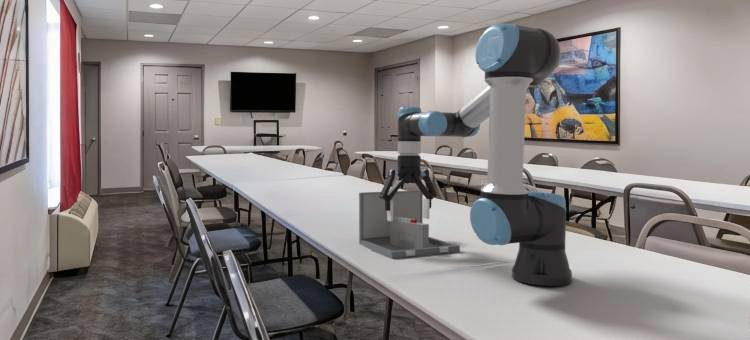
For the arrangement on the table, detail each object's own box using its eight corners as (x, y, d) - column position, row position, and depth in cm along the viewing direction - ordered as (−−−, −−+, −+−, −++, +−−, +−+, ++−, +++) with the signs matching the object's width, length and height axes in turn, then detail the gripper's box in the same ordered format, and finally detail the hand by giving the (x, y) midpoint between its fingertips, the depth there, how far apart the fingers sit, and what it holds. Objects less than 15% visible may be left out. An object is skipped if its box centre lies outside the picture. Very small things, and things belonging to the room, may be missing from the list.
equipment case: (460, 252, 162) (461, 195, 161) (392, 259, 151) (392, 198, 150) (420, 240, 184) (421, 190, 183) (359, 245, 173) (359, 192, 172)
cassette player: (428, 252, 162) (428, 221, 161) (422, 253, 160) (422, 221, 160) (396, 245, 174) (396, 216, 174) (390, 246, 172) (390, 216, 172)
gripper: (435, 154, 175) (434, 216, 176) (369, 154, 164) (369, 220, 165) (447, 154, 168) (446, 218, 169) (379, 154, 157) (379, 223, 158)
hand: (408, 219), depth 167 cm, fingers open, 13 cm apart
